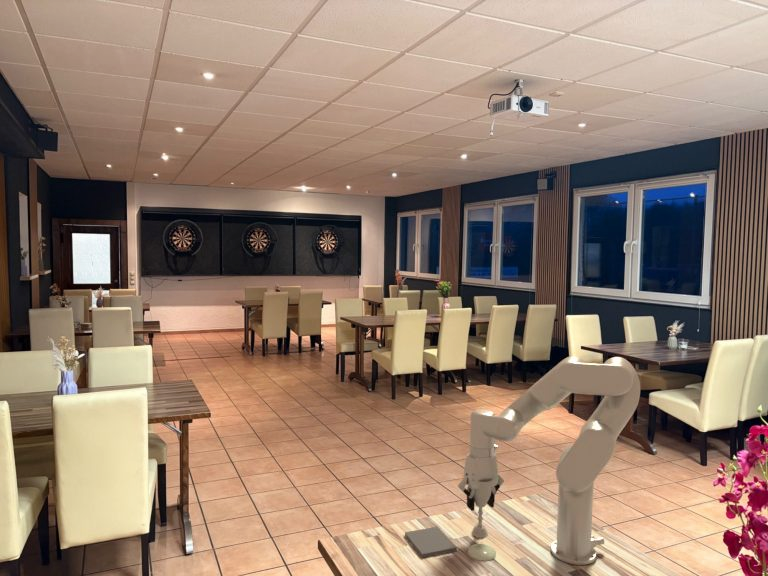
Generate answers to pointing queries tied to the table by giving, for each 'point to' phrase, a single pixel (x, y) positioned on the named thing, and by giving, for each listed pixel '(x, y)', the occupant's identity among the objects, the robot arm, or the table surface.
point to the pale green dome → (482, 552)
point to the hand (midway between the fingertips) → (480, 506)
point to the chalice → (481, 500)
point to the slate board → (430, 541)
